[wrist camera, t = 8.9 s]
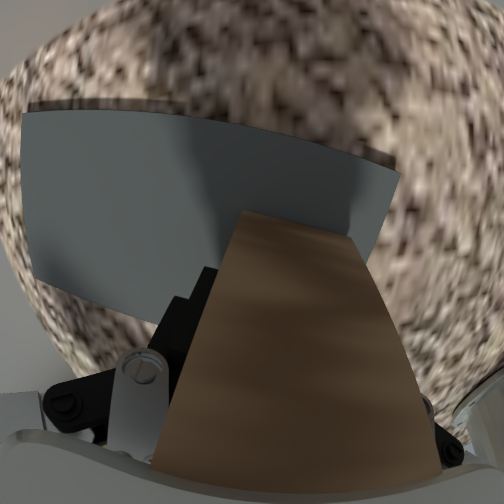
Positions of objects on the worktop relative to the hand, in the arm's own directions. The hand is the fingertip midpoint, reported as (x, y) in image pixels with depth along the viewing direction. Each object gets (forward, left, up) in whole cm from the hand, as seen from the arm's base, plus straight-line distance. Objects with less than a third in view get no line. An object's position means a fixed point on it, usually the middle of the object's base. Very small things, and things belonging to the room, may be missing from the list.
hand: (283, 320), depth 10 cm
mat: (+7, 0, -4) cm, 8 cm away
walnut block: (0, 0, -3) cm, 3 cm away
